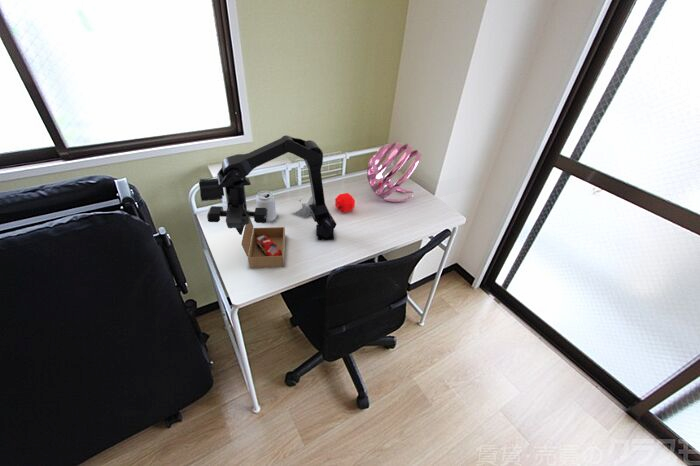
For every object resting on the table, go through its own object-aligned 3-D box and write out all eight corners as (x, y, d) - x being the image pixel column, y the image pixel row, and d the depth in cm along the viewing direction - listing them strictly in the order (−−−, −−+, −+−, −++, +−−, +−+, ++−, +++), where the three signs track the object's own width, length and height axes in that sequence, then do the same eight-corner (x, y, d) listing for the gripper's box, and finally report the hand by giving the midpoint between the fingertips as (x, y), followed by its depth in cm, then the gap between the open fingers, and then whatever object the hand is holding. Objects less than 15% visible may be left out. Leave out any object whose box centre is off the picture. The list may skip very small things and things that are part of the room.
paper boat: (300, 220, 129) (286, 206, 132) (304, 225, 135) (291, 212, 138) (320, 200, 131) (306, 187, 134) (323, 206, 137) (310, 193, 140)
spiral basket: (445, 158, 144) (403, 119, 138) (429, 197, 128) (381, 154, 123) (407, 185, 167) (370, 152, 161) (389, 221, 151) (347, 186, 145)
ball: (333, 206, 141) (333, 192, 136) (349, 203, 144) (350, 189, 139) (339, 216, 136) (340, 201, 131) (356, 213, 138) (357, 198, 134)
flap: (242, 243, 100) (241, 244, 100) (248, 256, 104) (247, 256, 104) (248, 214, 113) (247, 214, 113) (253, 226, 117) (252, 226, 117)
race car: (284, 257, 112) (283, 249, 110) (271, 263, 109) (269, 255, 107) (267, 238, 120) (266, 230, 117) (254, 243, 117) (253, 235, 114)
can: (272, 224, 128) (269, 200, 120) (255, 221, 129) (251, 197, 121) (279, 214, 133) (277, 191, 126) (263, 211, 134) (260, 188, 127)
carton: (283, 266, 109) (282, 256, 106) (249, 268, 107) (247, 257, 104) (285, 236, 122) (284, 226, 119) (255, 237, 120) (253, 227, 117)
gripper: (199, 209, 91) (207, 248, 100) (263, 211, 94) (266, 249, 103) (207, 190, 99) (215, 228, 109) (266, 192, 103) (268, 229, 112)
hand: (241, 234), depth 108 cm, fingers closed
